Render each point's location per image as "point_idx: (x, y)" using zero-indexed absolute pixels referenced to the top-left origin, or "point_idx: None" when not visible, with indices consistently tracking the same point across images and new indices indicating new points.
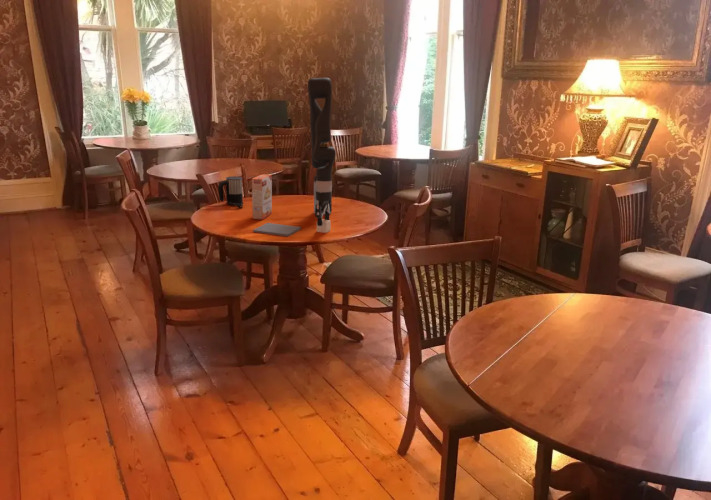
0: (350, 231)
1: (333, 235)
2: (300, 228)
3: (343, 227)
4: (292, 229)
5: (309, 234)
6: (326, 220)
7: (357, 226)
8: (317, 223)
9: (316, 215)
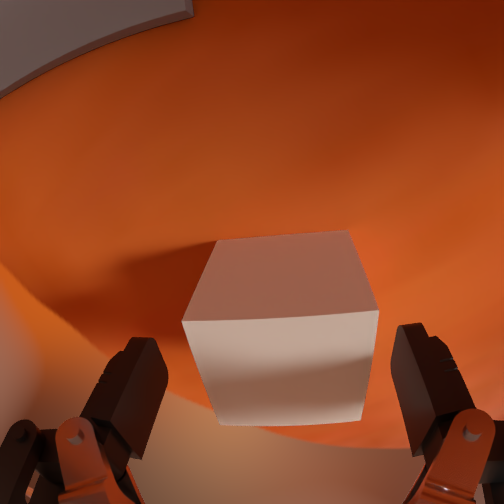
0: (366, 430)
1: (207, 395)
2: (176, 17)
3: (459, 365)
4: (48, 22)
5: (87, 229)
6: (330, 396)
7: (488, 403)
8: (124, 352)
9: (20, 453)
